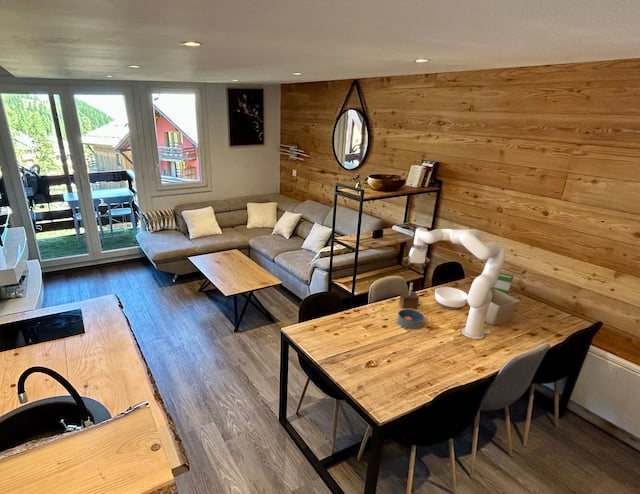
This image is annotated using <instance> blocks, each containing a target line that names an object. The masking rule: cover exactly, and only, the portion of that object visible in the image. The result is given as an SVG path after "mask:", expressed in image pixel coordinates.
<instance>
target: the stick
mask: <svg viewBox="0 0 640 494" xmlns="http://www.w3.org/2000/svg"><path fill="white" fill-rule="evenodd" d="M413 286H414V282H411V281H410V283H409V290H408V292H409V296H411V293H412V292H413Z"/></svg>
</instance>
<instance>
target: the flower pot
mask: <svg viewBox="0 0 640 494" xmlns="http://www.w3.org/2000/svg"><path fill="white" fill-rule="evenodd" d="M490 291H491V292H492V300H491V303H490V305H489V308H488V311H487V315H486V319H485V322H486V323H487V324H489V325H491V326H497V325H501V324H504V323H506V322H508V321H509V319H510V318H511V316H512V315H513V314H514V312H515V311H516V309H517V308H518V306H519V304H520V301H521V300H520V299H518V298H515V297H513V296H511V295H509V294H508V295H507V294H505V293H502V292H500V291H498V290H496V289H493V290H490Z"/></svg>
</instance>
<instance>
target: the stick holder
mask: <svg viewBox="0 0 640 494" xmlns="http://www.w3.org/2000/svg"><path fill="white" fill-rule="evenodd" d="M419 300H420V298H419V296H418V294H417V292H416V291H412V293H411V296H409V290H408V291H406V290H400V295H399V302H398V303H399V305H400V307H401V309H410V310H418V306H419Z"/></svg>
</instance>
